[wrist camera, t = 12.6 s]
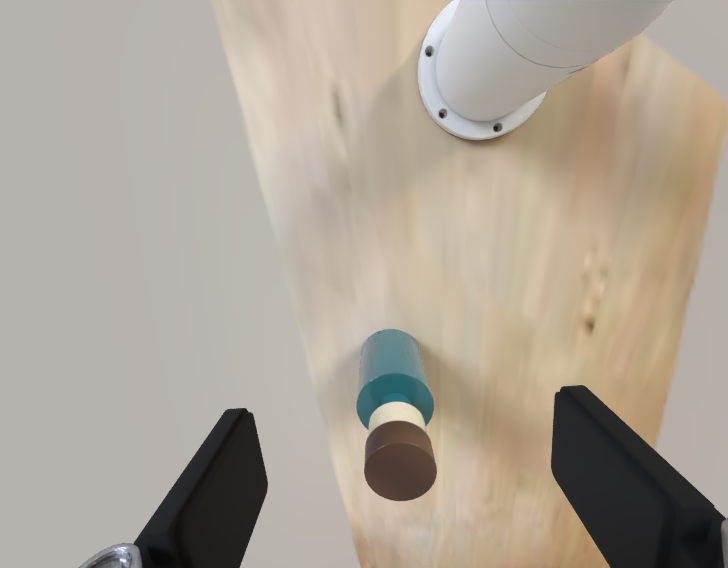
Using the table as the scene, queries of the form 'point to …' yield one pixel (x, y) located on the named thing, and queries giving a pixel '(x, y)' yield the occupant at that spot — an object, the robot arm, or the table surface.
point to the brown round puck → (399, 461)
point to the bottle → (393, 382)
